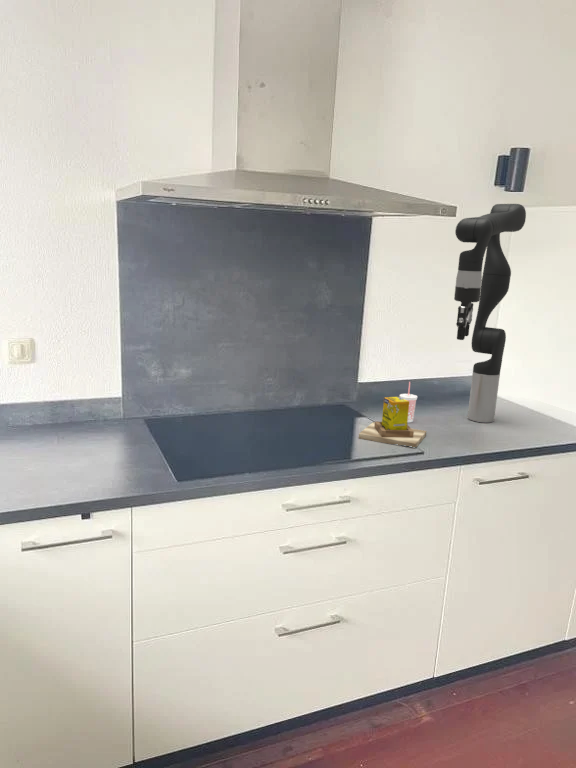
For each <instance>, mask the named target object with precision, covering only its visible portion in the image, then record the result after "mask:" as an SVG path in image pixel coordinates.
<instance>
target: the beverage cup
mask: <svg viewBox="0 0 576 768" xmlns="http://www.w3.org/2000/svg"><path fill="white" fill-rule="evenodd" d="M410 391H411V381H408V390H407V393H400V394H399V397H401V398H403V399H405V400H407V401H409V411H408V421H407V423H412V422H414V417H415V412H416V411H415V410H416V405H417V400H418V395H416V394H412V393H410Z"/></svg>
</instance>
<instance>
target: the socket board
mask: <svg viewBox="0 0 576 768" xmlns="http://www.w3.org/2000/svg"><path fill="white" fill-rule="evenodd" d="M426 436H427V430H423V429H418V428H417V429H416V428H413V427H412V428H411V427H410V426H409V425H408V424H407V430H385V429H384V428H383V427H382V421H373V422H372V423H370V424H369V425H368V426H366V427H365V428H364V429H362V430H361V431H360V432H359V433H358V439H361V440H366V441H367V440H368V441H373V442H377V443H384V444H390V445H393V444H398V445H397V446H399V445H406V446H412V447H416V448H417V447H418V446H419V445H420V444H421V442H422V441H423V440H424V439H425V437H426Z"/></svg>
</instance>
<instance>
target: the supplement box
mask: <svg viewBox="0 0 576 768" xmlns="http://www.w3.org/2000/svg"><path fill="white" fill-rule="evenodd" d="M382 407H383V408H382V418H381V422H382V427H383V428H384V429H385V430H407V425H408V422H407V421H408V411H409V401H407V400H405V399H403V398H401V397H400V396H389V397H388V396H387V397H383V405H382Z"/></svg>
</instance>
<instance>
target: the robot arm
mask: <svg viewBox="0 0 576 768" xmlns="http://www.w3.org/2000/svg"><path fill="white" fill-rule="evenodd" d="M526 211H527V210H526V208H525V207H524V205H522V204H519V203H496V204H493V206H492V207H491V209H490V213H487V214H483V215H480V216H475V217H465V218H463V219H461V220H460V221H459V222H458V223H457V225H456V227H455V236H456V238H457V240H458V241H460V242H461V243H470V244H471V243H474V244H475V246H474V248H471V249H469V250H464V251H461V252H460V254H459V258H458V266H457V273H456V277H455V278H456V279H455V286H454V288H455V289H454V301H456V302H460V305H459V306H458V308H457V317H456V323H455V325H456V327H457V332H456V333H457V334H456V340H459V341H464V340H465V338H466V337H468V336H469V334H470V327H471V323H472V321H473V311H474V303H478V307H477V313H476V318H475V322H474V327H473V332H472V335H471V336H472V337H471V349H472V351H473V352H474V353H479V354H487V355H491V357H490V359H488V360H484V361H479V362H475V363H474V364H473V368H472V374H471V375H472V376H471V384H470V385H471V386H470V393H469V400H468V401H469V402H468V410H467V415H466V416H467V417H468V418H467V419H468V420H469V421H473V422H478V423H486V424H487V423H493V422H494V421H495V416H496V409H497V401H498V391H499V386H500V385H499V383H500V377H501V376H500V375H501V369H502V364H503V357H504V352H505V351H504V350H505V344H506V340H507V339H506V337H507V335H506V334H507V333H506V330H505V329H503V328H497V327H490V326H489V327H487V326H486V325H487V322H488V320H489V317H490V315H491V314H492V312H493V310H494V309H495V308H497V306H498V305H499V303H501V301H502V300H503V299H504V298H505V297H506V295H507V293H508V292H509V288H510V282H511V276H512V270H511V266H510V264H509V262H508V260H507V258H506V256H505V254H504V251H503V249H502V246H501V245H502V244H501V236H500V235H501V234H502V233H509V232H510V233H515V232H519V231H520V230H521V229H523V227H524V225H525V223H526V219H527V212H526ZM484 257H485V260H484ZM483 262H484V265H483ZM482 271H483V272H482Z"/></svg>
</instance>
